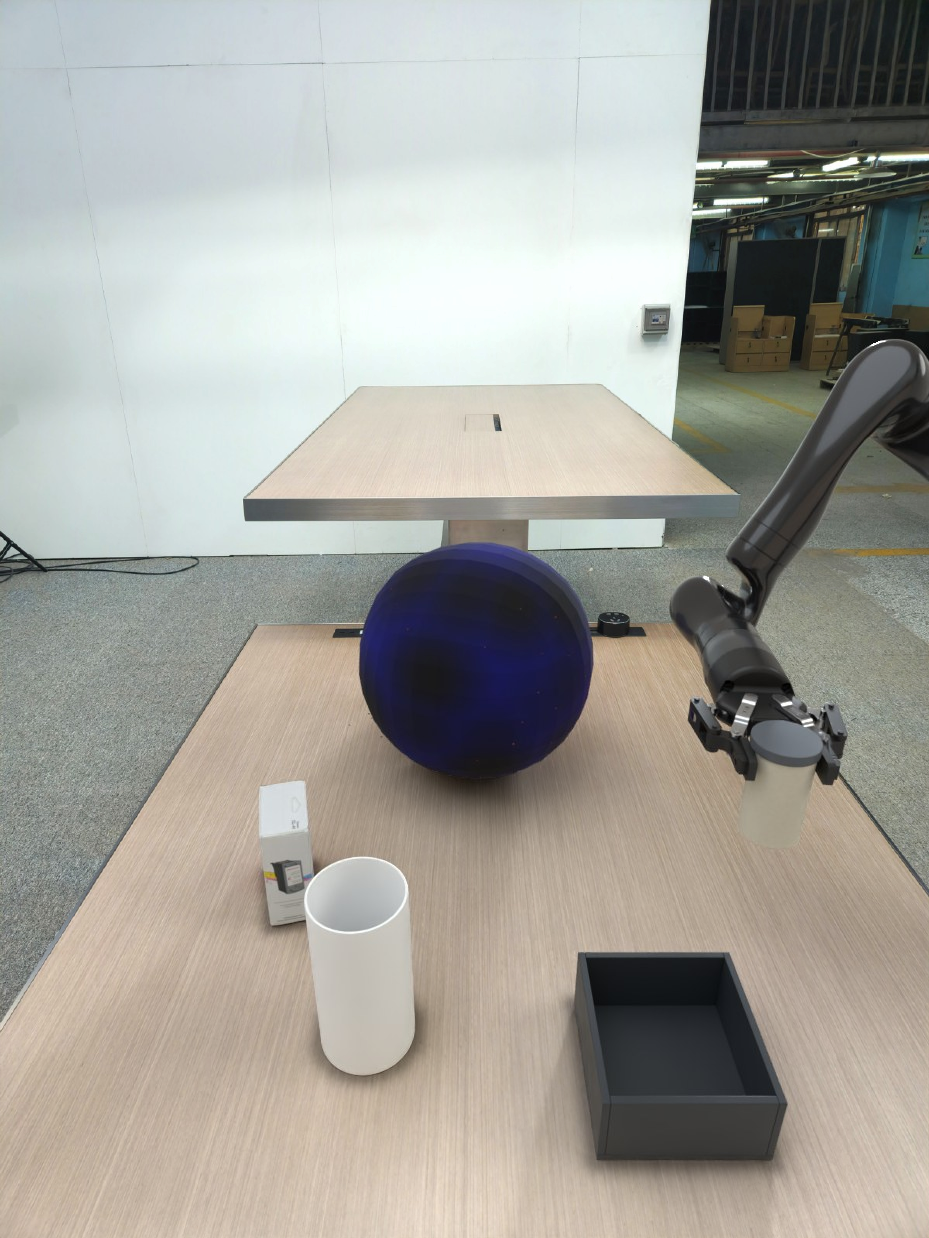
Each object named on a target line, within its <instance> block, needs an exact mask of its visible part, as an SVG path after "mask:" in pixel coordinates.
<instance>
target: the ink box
mask: <svg viewBox="0 0 929 1238" xmlns="http://www.w3.org/2000/svg"><path fill="white" fill-rule="evenodd" d="M258 791H259V792H258V795H259V796H258V839H259V846H260V853H261V862H262V870H263V877H264V884H265V885H264V886H265V893H266V901H267V908H268V917H269V924H270V926H281V925H285V924H290V923H297V922H302V921H306V916H305V908H304V898H305V892H306V889H307V887H308V885H309V883H310V882H311V880H312V879H313V878H314V877H315V872H314V859H313V849H312V840H311V839H312V838H311V827H310V818H309V807H308V799H307V798H308V797H307V788H306V781H305V780H303V779H302V780H301V779H300V780H292V781H286V782H281V783H271V784H265V785H260V786H259V790H258Z"/></svg>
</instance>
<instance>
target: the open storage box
mask: <svg viewBox="0 0 929 1238" xmlns="http://www.w3.org/2000/svg"><path fill="white" fill-rule="evenodd" d="M574 986H575V987H574V999H573V1009H574V1015H575V1020H576V1028H577V1029H576V1030H577V1035H578V1042H579V1048H580V1056H581V1063H582V1070H583V1076H584V1077H583V1078H584V1082H585V1083H584V1084H585V1091H586V1097H587V1104H588V1111H589V1117H590V1124H591V1125H590V1126H591V1131H592V1139H593V1146H594V1152H595V1159H596V1160H602V1161H604V1160H611V1161H612V1160H613V1161H614V1160H615V1161H617V1160H620V1161H622V1160H625V1161H626V1160H627V1161H628V1160H632V1161H634V1160H639V1161H641V1160H642V1161H643V1160H644V1161H645V1160H650V1161H653V1160H654V1161H655V1160H656V1161H658V1160H659V1161H661V1160H662V1161H665V1160H666V1161H669V1160H670V1161H671V1160H672V1161H676V1160H677V1161H679V1160H680V1161H681V1160H683V1161H687V1160H688V1161H691V1160H693V1161H694V1160H695V1161H697V1160H698V1161H702V1160H703V1161H705V1160H706V1161H707V1160H709V1161H710V1160H711V1161H717V1160H718V1161H732V1160H733V1161H739V1160H740V1161H742V1160H744V1161H772V1160H773V1159H774V1156H775V1152H776V1148H777V1145H778V1141H779V1137H780V1134H781V1131H782V1127H783V1122H784V1120H785V1115H786V1113H787V1112H786V1111H787V1108H788V1105H789V1104H788V1103H789V1102H788V1100H787V1098H786V1095H785V1093H784V1090H783V1088H782V1086H781V1083H780V1080H779V1077H778V1074H777V1071H776V1069H775V1068H774V1065H773V1062H772V1059H771V1056H770V1054H769V1052H768V1049H767V1046H766V1044H765V1042H764V1039H763V1036H762V1034H761V1031H760V1028H759V1026H758V1023H757V1020H756V1018H755V1016H754V1013H753V1010H752V1007H751V1005H750V1002H749V999H748V997H747V995H746V992H745V989H744V987H743V984H742V982H741V979H740V976H739V974H738V971H737V969H736V966H735V963H734V961H733V958H732V956H731V953H730V952H729V951H723V952H722V951H585V952H584V951H578V952H577V963H576V973H575V985H574Z"/></svg>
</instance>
